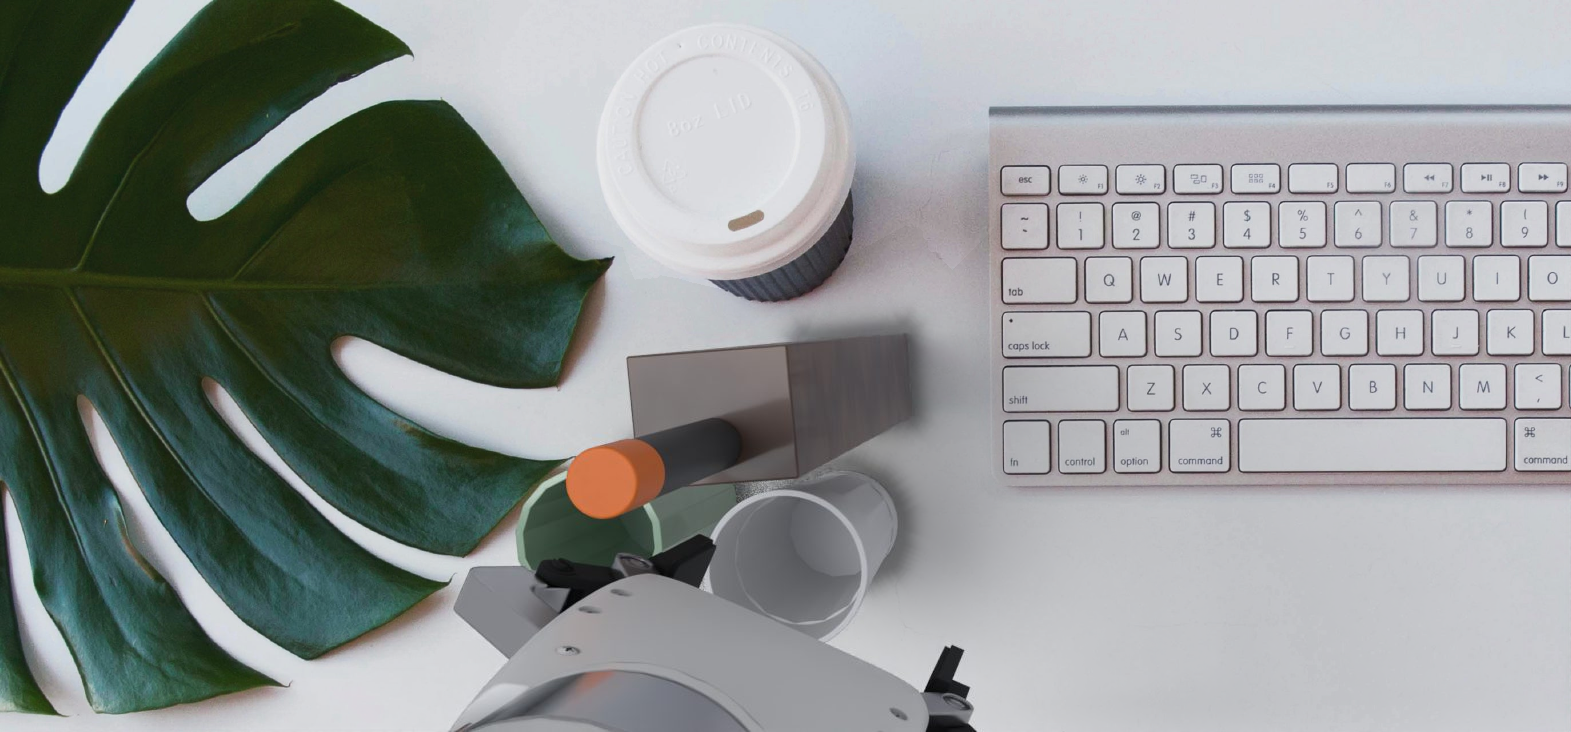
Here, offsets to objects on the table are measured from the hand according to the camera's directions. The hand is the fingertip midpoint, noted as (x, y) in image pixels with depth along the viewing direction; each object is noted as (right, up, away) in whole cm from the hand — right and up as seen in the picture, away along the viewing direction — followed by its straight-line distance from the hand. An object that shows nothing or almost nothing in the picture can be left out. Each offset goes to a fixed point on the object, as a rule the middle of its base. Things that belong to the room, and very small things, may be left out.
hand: (816, 630), depth 39 cm
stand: (-4, +9, +25) cm, 27 cm away
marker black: (-4, +7, +1) cm, 8 cm away
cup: (-5, 0, +26) cm, 26 cm away
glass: (-15, +1, +25) cm, 29 cm away
